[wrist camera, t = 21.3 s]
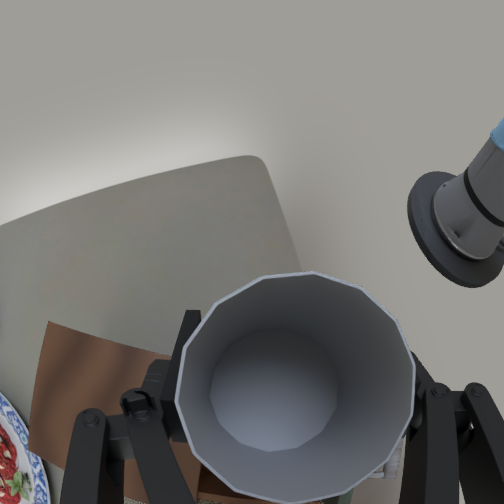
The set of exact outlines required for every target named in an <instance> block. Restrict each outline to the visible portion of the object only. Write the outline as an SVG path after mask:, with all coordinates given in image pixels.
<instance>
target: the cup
mask: <svg viewBox="0 0 504 504" xmlns="http://www.w3.org/2000/svg"><path fill="white" fill-rule="evenodd" d="M415 371H416V365H415V362H414V359H413V357H412V354H411V352H410V349H409V347H408V344H407V342H406V339H405V337H404V335H403V332H402V330H401V327H400V325H399V323H398V321H397V319H396V318H395V317H394V316H393V315H392V314H390V313H389V312H388V311H387V310H386V309H385V308H384V307H383V306H382V305H381V304H380V303H379V302H378V301H377V300H375V299H374V298H373V297H372V296H371V295H370V294H369V293H368V292H367V291H365V289H363V288H362V287H360V286H358V285H355V284H352V283H349V282H345V281H343V280H340V279H337V278H333V277H331V276H328V275H325V274H322V273H318V272H316V271H308V272H298V273H287V274H276V275H266V276H261V277H259V278H257V279H256V280H254V281H252V282H250V283H249V284H247V285H245V286H243V287H242V288H240V289H238V290H236V291H234V292H233V293H231V294H229V295H227V296H226V297H224V298H222V299H220V300H218V301H217V302H215V303H214V305H213V306H212V307H211V309H210V310H209V312H208V313H207V314H206V316H205V317H204V319H203V320H202V321H201V323H200V324H199V325H198V327H197V328H196V330H195V331H194V332H193V334H192V335H191V337H190V338H189V339H188V341H187V342H186V344H185V345H184V346H183V350H182V356H181V362H180V368H179V375H178V381H177V387H176V394H175V401H174V402H175V405H176V408H177V411H178V414H179V417H180V420H181V423H182V426H183V429H184V432H185V434H186V437H187V440H188V443H189V445H190V448H191V451H192V453H193V455H194V456H195V457H196V458H197V459H198V460H200V461H201V462H202V463H203V464H204V465H205V466H206V467H207V468H208V469H209V470H210V471H211V472H212V473H214V474H215V475H216V476H217V477H218V478H219V479H220V480H222V481H223V482H224V483H225V484H226V485H227V486H229V487H230V488H231V489H232V490H233V491H235V492H238V493H241V494H245V495H248V496H252V497H255V498H259V499H263V500H267V501H271V502H276V503H280V504H301V503H307V502H312V501H317V500H321V499H326V498H330V497H334V496H338V495H342V494H345V493H347V492H348V491H350V490H351V489H352V488H354V487H355V486H357V485H358V484H359V483H361V482H362V481H363V480H365V479H366V478H367V477H369V476H370V475H371V474H373V473H374V472H375V471H377V470H378V469H379V468H380V467H381V466H383V465H384V464H385V463H386V462H388V461H389V459H390V457H391V456H392V454H393V452H394V450H395V449H396V447H397V445H398V443H399V441H400V439H401V438H402V436H403V434H404V432H405V430H406V428H407V426H408V424H409V422H410V420H411V418H412V416H413V409H414V394H415Z"/></svg>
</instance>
